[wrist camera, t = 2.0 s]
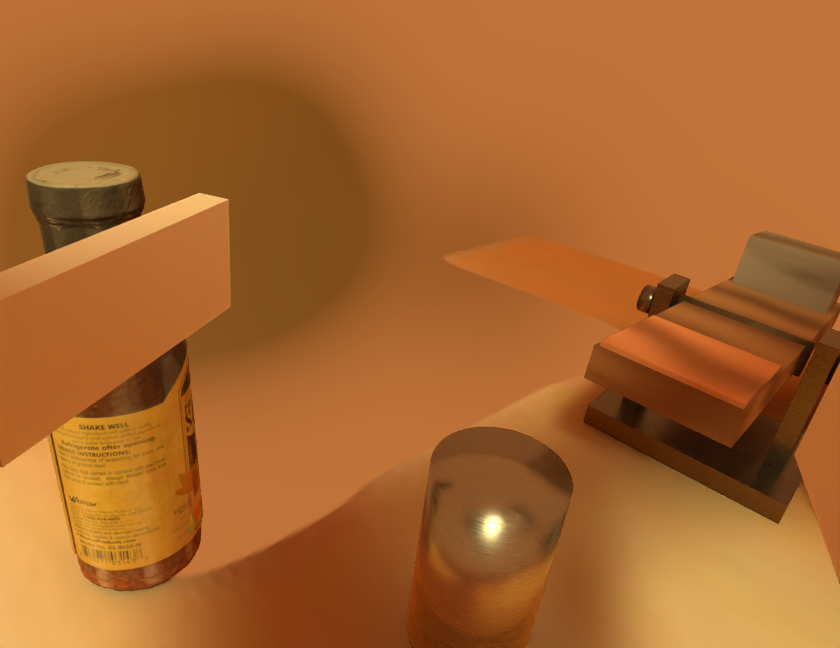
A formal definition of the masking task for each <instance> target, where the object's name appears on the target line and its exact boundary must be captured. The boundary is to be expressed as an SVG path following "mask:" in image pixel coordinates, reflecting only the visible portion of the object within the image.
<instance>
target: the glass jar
mask: <svg viewBox="0 0 840 648" xmlns="http://www.w3.org/2000/svg"><path fill="white" fill-rule="evenodd" d="M572 492H573V483H572V478H571V475H570V472H569V470H568V468H567V466H566V465H565V463H564V462H563V461H562V460H561V458H560V457H559V456H558V455H557V454H556V453H555V452H553V451H552V450H551V449H550V448H548V447H547V446H546V445H544V444H543V443H541V442H539V441H538V440H536V439H534V438H532V437H530V436H527V435H525V434H522V433H519V432H516V431H512V430H508V429H503V428H496V427H475V428H468V429H464V430H460V431H457V432H455V433H452V434H450V435H449V436H447V437H445V438H444V439H443V440H442V441H441V442H440V443H439V444H438V445H437V446H436V448H435V450H434V451H433V454H432V457H431V464H430V470H429V477H428V484H427V490H426V497H425V503H424V510H423V517H422V523H421V530H420V536H419V543H418V550H417V556H416V563H415V569H414V576H413V583H412V589H411V596H410V602H409V609H408V616H407V632H408V637H409V640H410V643H411V645H412V647H413V648H527V647H528V643H529V640H530V637H531V633H532V630H533V626H534V623H535V619H536V616H537V613H538V609H539V606H540V602H541V599H542V595H543V592H544V588H545V585H546V582H547V578H548V575H549V571H550V568H551V564H552V561H553V558H554V554H555V551H556V547H557V544H558V540H559V537H560V534H561V530H562V527H563V523H564V520H565V516H566V513H567V509H568V506H569V503H570V499H571V496H572Z"/></svg>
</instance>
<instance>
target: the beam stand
mask: <svg viewBox="0 0 840 648" xmlns="http://www.w3.org/2000/svg"><path fill="white" fill-rule="evenodd" d="M689 281H690V279H688V278H685V277H683V276H680V275H677V274H673V275H671V276H669V277H668V278H666V279H665V280H663V281H661V282H660V283H658V285H657V288H656V287H653V286H651V285H646V286H645V287H644V289H643V290H642V292H641V294H640V296H639V298H638V301H637V310H640V311H642V312H645V313H647V314H648V318H649V317H651V316H653V315H657V314H659V313H661V312H663V311H665V310H667V309H669V308H671V307H673V306H675V305H677V303H678V302H679V300H680V299H681V297H682V296H684V295H685V293H686V290H687V287H688V284H689ZM839 363H840V332H839V331H836V330H834V329H831V328H829V329H828V330H827V331H826V333H825V334H824V335H823V337H822V338H821V340H820V341H819V342H818V345H817V347H816V349H815V351H814V353H813V355H812V358H811V360H810V362H809V364H808V366H807V369H806V371H805V373H804V375H803V377H802V379H801V382H800V384H799V386H798V388H797V390H796V392H795V395H794V397H793V399H792V401H791V403H790V406H789V408H788V410H787V412H786V414H785V416H784V419H783V421H782V422H780V421H778V420H776V419H773V418H771V417H769V416H767V415H764V414H762V413H760V414H759V415H758V416H757V418H756V419H755V420H754V421H753V422H752V424H751V425H750V426H749V427H748V428H747V430H746V431H745V432H744V433H743V434H742V435H741V437H740V438H739V439H738V440H737V441H736V443H735V444H734V445H733V446H732V447H731V448H730V447H728V446H725V445H723V444H721V443H719V442H717V441H715V440H713V439H711V438H709V437H707V436H705V435H703V434H701V433H698V432H696V431H694V430H692V429H690V428H688V427H686V426H684V425H682V424H680V423H678V422H676V421H674V420H671V419H669V418H667V417H665V416H663V415H661V414H659V413H657V412H655V411H653V410H651V409H649V408H647V407H644V406H642V405H640V404H638V403H636V402H634V401H632V400H630V399H628V398H626V397H624V396H622V395H620V394H618V393H615V392H613V391H611V390H609V389H608V390H607V391H605V392H604V393H603V394H602V395H600V396H599V397H598V398H597V399H595V400H594V401H593V402H592V403H590V404H589V405H588V407H587V411H586V414H585V418H584V422H585V423H587V424H589V425H591V426H593V427H595V428H597V429H599V430H601V431H603V432H604V433H606V434H608V435H610V436H612V437H614V438H616V439H618V440H620V441H622V442H624V443H625V444H627V445H629V446H631V447H633V448H635V449H637V450H639V451H641V452H643V453H645V454H646V455H648V456H650V457H652V458H654V459H656V460H658V461H660V462H662V463H664V464H665V465H667V466H669V467H671V468H673V469H675V470H677V471H679V472H681V473H683V474H685V475H686V476H688V477H690V478H692V479H694V480H696V481H698V482H700V483H702V484H704V485H706V486H707V487H709V488H711V489H713V490H715V491H717V492H719V493H721V494H723V495H725V496H727V497H728V498H730V499H732V500H734V501H736V502H738V503H740V504H742V505H744V506H746V507H747V508H749V509H751V510H753V511H755V512H757V513H759V514H761V515H763V516H765V517H767V518H768V519H770V520H772V521H774V522H776V523H778V524H779V522H780V520H781V518H782V516H783V514H784V512H785V511H786V509H787V507H788V505H789V503H790V501H791V499H792V497H793V496H794V494H795V492H796V490H797V488H798V486H799V484H800V482H801V480H802V479H803V478H802V475H801V472H800V470H799V467H798V464H797V461H796V458H795V455H794V454H795V452H796V450H797V448H798V446H799V444H800V442H801V440H802V438H803V436H804V434H805V432H803V431H804V429H805V427H806V425H807V423H808V420H809V418H810V416H811V414H812V412H813V410H814V408H815V406H816V404H817V402H818V400H819V398H820V396H821V393H822V391H823V389H824V387H825V385H829V383H830V381H831V379H832V377H833V375H834V373H835V371H836V369H837V367H838V365H839Z"/></svg>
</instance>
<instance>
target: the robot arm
mask: <svg viewBox="0 0 840 648" xmlns="http://www.w3.org/2000/svg"><path fill="white" fill-rule="evenodd" d="M230 306H231V299H230V249H229V200H228V199H224V198H219V197H215V196H210V195H206V194H202V193H198V194H196V195H193V196H191V197H188V198H186V199H183V200H181V201H178V202H176V203H173V204H170V205H168V206H165V207H163V208H160V209H158V210H155V211H153V212H151V213H148V214H145V215H143V216H140V217H138V218H135V219H133V220H130V221H128V222H125V223H123V224H120V225H118V226H115V227H113V228H110V229H108V230H105V231H103V232H100V233H98V234H95V235H93V236H90V237H88V238H85V239H83V240H80V241H78V242H75V243H72V244H70V245H67V246H65V247H62V248H60V249H57V250H55V251H52V252H50V253H47V254H45V255H42V256H40V257H37V258H35V259H32V260H30V261H27V262H25V263H22V264H20V265H17V266H15V267H12V268H10V269H7V270H5V271H2V272H0V467H4V466H5V465H7V464H8V463H10V462H11V461H13V460H14V459H15V458H17V457H18V456H20V455H21V454H22V453H24V452H25V451H27V450H28V449H30V448H31V447H32V446H34V445H35V444H37V443H38V442H39V441H41V440H42V439H44V438H45V437H47V436H48V435H49V434H51V433H52V432H54V431H55V430H56V429H58V428H59V427H61V426H62V425H64V424H65V423H66V422H68V421H69V420H71V419H72V418H73V417H75V416H76V415H78V414H79V413H81V412H82V411H83V410H85V409H86V408H88V407H89V406H90V405H92V404H93V403H95V402H96V401H98V400H99V399H100V398H102V397H103V396H105V395H106V394H107V393H109V392H110V391H112V390H113V389H115V388H116V387H117V386H119V385H120V384H122V383H123V382H124V381H126V380H127V379H129V378H130V377H132V376H133V375H134V374H136V373H137V372H139V371H140V370H141V369H143V368H144V367H146V366H147V365H149V364H150V363H151V362H153V361H154V360H156V359H157V358H158V357H160V356H161V355H163V354H164V353H166V352H167V351H168V350H170V349H171V348H173V347H174V346H175V345H177V344H178V343H180V342H181V341H183V340H184V339H185V338H187V337H188V336H190V335H191V334H192V333H194V332H195V331H197V330H198V329H200V328H201V327H202V326H204V325H205V324H207V323H208V322H210V321H211V320H212V319H214V318H215V317H217V316H218V315H219V314H221V313H222V312H224V311H225V310H226V309H228V308H229V307H230ZM794 455H795V458H796V461H797V464H798V467H799V470H800V472H801V475H802V478H803V481H804V484H805V487H806V490H807V492H808V495H809V498H810V501H811V504H812V507H813V509H814V512H815V515H816V518H817V521H818V524H819V527H820V529H821V532H822V535H823V538H824V541H825V544H826V546H827V549H828V552H829V555H830V558H831V561H832V564H833V566H834V569H835V572H836V575H837V578H838V581H839V583H840V363H839V365H838V367H837V369H836V371H835V373H834V375H833V377H832V379H831V381H830V383H829V385H828V387H827V389H826V391H825V393H824V395H823V397H822V399H821V401H820V404H819V406H818V408H817V410H816V412H815V414H814V416H813V418H812V420H811V422H810V424H809V426H808V428H807V430H806V432H805V434H804V436H803V438H802V440H801V442H800V444H799V446H798V448H797V450H796V452H795V454H794Z"/></svg>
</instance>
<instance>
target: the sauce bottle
mask: <svg viewBox="0 0 840 648" xmlns="http://www.w3.org/2000/svg"><path fill="white" fill-rule="evenodd" d="M26 184H27V192H28V197H29V205H30V208H31V210H32V211H33V214H34V216H35V218H36V220H37V221H38V222H39V224H40V230H41V235H42V239H43V245H44V250H45V254H47V253H50V252H52V251H55V250H57V249H60V248H62V247H65V246H67V245H70V244H72V243H75V242H78V241H80V240H83V239H85V238H88V237H90V236H93V235H95V234H98V233H100V232H103V231H105V230H108V229H110V228H113V227H115V226H118V225H120V224H123V223H125V222H128V221H130V220H133V219H135V218H138V217H140V216H141V212H142V211H143V208H144V204H145V196H144V191H143V186H142V180H141V177H140V174H139V172H138V171H137V170H136V169H135V168H133V167H130V166H127V165H122V164H116V163H109V162H89V161H88V162H86V161H80V162H79V161H77V162H64V163H57V164H51V165H47V166H44V167H40V168H38V169H35V170H33V171H31V172H29V173H28V174H27V176H26ZM47 438H48V443H49V447H50V452H51V456H52V461H53V465H54V469H55V474H56V478H57V483H58V487H59V492H60V496H61V501H62V505H63V509H64V513H65V518H66V522H67V527H68V532H69V536H70V541H71V545H72V549H73V552H74V554H77V558H78V562H79V565H80V567H81V571H82V572H83V574H84V576H85V577H86V578H87V579H88V580H90V581H91V582H92V583H94V584H96V585H98V586H101V587H103V588H110V589H113V590H116V591H133V590H139V589H147V588H150V587H152V586H154V585H157V584H159V583H163V582H164V581H165V580H167V579H169V578H170V577H172V576H174V575H176V574H177V573H178V572H179V571H181V570H182V569H183V568H185V567H186V566H187V565H188V564H189V563H190V561H191V560H192V559H193V557H194V555H195V553H196V551H197V549H198V548H199V545H200V539H201V523H202V517H203V510H202V499H201V489H200V478H199V467H198V457H197V441H196V436H195V421H194V412H193V402H192V393H191V383H190V372H189V359H188V352H187V343H186V340H185V339H184V340H183V341H181V342H180V343H178V344H177V345H175V346H174V347H173V348H171V349H170V350H168V351H167V352H166V353H164V354H163V355H161V356H160V357H158V358H157V359H156V360H154V361H153V362H151V363H150V364H149V365H147V366H146V367H144V368H143V369H141V370H140V371H139V372H137V373H136V374H134V375H133V376H132V377H130V378H129V379H127V380H126V381H124V382H123V383H122V384H120V385H119V386H117V387H116V388H115V389H113V390H112V391H110V392H109V393H107V394H106V395H105V396H103V397H102V398H100V399H99V400H98V401H96V402H95V403H93V404H92V405H90V406H89V407H88V408H86V409H85V410H83V411H82V412H81V413H79V414H78V415H76V416H75V417H73V418H72V419H71V420H69V421H68V422H66V423H65V424H64V425H62V426H61V427H59V428H58V429H56V430H55V431H54V432H52V433H51V434H49V435H48V436H47Z"/></svg>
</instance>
